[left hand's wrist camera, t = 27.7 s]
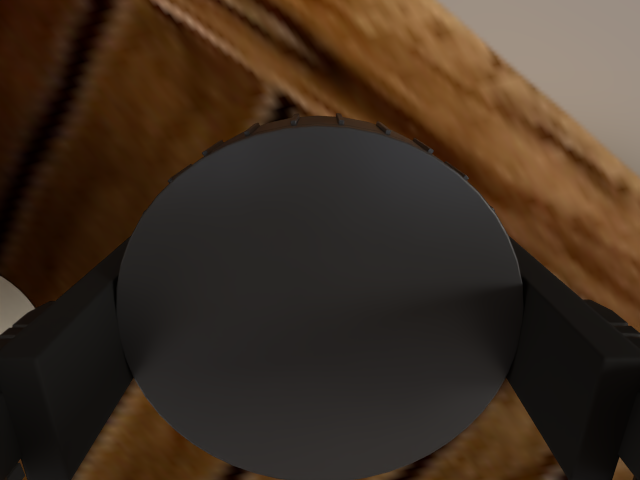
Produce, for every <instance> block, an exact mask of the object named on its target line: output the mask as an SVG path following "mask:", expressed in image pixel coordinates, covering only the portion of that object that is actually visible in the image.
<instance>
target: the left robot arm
mask: <svg viewBox="0 0 640 480" xmlns="http://www.w3.org/2000/svg"><path fill="white" fill-rule="evenodd" d="M130 237H131V236H130ZM130 237H129V238H128V239H127V240H126V241H124V242H123V243H122V244H121V245H120V246H119V247H118V248H116V249H115V250H114V251H113V252H112V253H111V254H109V255H108V256H107V257H106V258H105V259H104V260H102V261H101V262H100V263H99V264H98V265H97V266H96V267H94V268H93V269H92V270H91V271H90V272H89V273H87V274H86V275H85V276H84V277H83V278H82V279H80V280H79V281H78V282H77V283H76V284H75V285H74V286H72V287H71V288H70V289H69V290H68V291H67V292H65V293H64V294H63V295H62V296H61V297H60V298H59V299H57V300H56V301H49V302H47V303H45V304H43V305H41V306H39V307H37V308H35V309H33V310H31V311H29V312H28V313H26V314H25V315H24V316H23V317H21V318H20V319H19V320H18V321H17V322H15V323H14V324H13V325H12V328H8V329H7V330H6V331H4V332H3V333H2V334H1V335H0V480H7V475H8V474H9V473H10V472H11V470H12V469H13V468H14V466H15V465H16V464H17V463H18V461H19V460H20V459H21V461H22V464H23V467H24V470H25V473H26V476H27V480H71V479H72V477H73V476H74V474H75V472H76V471H77V469H78V467H79V466H80V464H81V462H82V461H83V459H84V458H85V456H86V454H87V453H88V451H89V449H90V448H91V446H92V444H93V443H94V441H95V440H96V438H97V436H98V435H99V433H100V431H101V430H102V428H103V426H104V425H105V423H106V422H107V420H108V418H109V417H110V415H111V413H112V412H113V410H114V408H115V407H116V405H117V404H118V402H119V400H120V399H121V397H122V395H123V394H124V392H125V390H126V389H127V387H128V386H129V384H130V382H131V381H132V379H133V375H132V372H131V370H130V368H129V366H128V363H127V361H126V359H125V356H124V352H123V348H122V344H121V339H120V334H119V328H118V322H117V316H116V287H117V282H118V276H119V271H120V266H121V262H122V259H123V256H124V253H125V250H126V247H127V245H128V242H129V239H130ZM509 238H510V241H511V244H512V246H513V249H514V252H515V254H516V257H517V260H518V264H519V269H520V274H521V279H522V283H523V302H524V311H523V320H522V326H521V332H520V337H519V342H518V347H517V351H516V355H515V357H514V359H513V362H512V364H511V367H510V369H509V372H508V374H507V376H506V378H507V379H508V381H509V383H510V384H511V386H512V388H513V389H514V391H515V393H516V394H517V396H518V397H519V399H520V401H521V402H522V404H523V406H524V407H525V409H526V411H527V412H528V414H529V415H530V417H531V419H532V420H533V422H534V424H535V425H536V427H537V429H538V430H539V432H540V433H541V435H542V437H543V438H544V440H545V442H546V443H547V445H548V447H549V448H550V450H551V451H552V453H553V455H554V456H555V458H556V460H557V461H558V463H559V465H560V466H561V468H562V469H563V471H564V473H565V474H566V476H567V478H568V479H569V480H612V478H613V475H614V472H615V469H616V466H617V463H618V460H619V457H620V458H621V459H622V461H623V462H624V463H625V464H626V466H627V467H628V468H629V470H630V471H631V472H632V473H633V475H634V477H633V480H640V333H639V332H638V331H637V330H635V329H634V328H633V327H632V326H628V323H627V322H626V321H624V320H623V319H622V318H621V317H619V316H618V315H617V314H616V313H614V312H613V311H612V310H610V309H608V308H606V307H604V306H602V305H600V304H598V303H596V302H594V301H592V300H582V299H581V298H580V297H579V296H578V295H577V294H575V293H574V292H573V291H572V290H571V289H570V288H568V287H567V286H566V285H565V284H564V283H563V282H562V281H560V280H559V279H558V278H557V277H556V276H555V275H553V274H552V273H551V272H550V271H549V270H548V269H546V268H545V267H544V266H543V265H542V264H541V263H540V262H538V261H537V260H536V259H535V258H534V257H533V256H531V255H530V254H529V253H528V252H527V251H526V250H525V249H523V248H522V247H521V246H520V245H519V244H518V243H516V242H515V241H514V240H513V239H512V238H511V237H509Z"/></svg>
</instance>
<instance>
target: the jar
mask: <svg viewBox="0 0 640 480" xmlns="http://www.w3.org/2000/svg"><path fill="white" fill-rule="evenodd" d="M33 309H35V308H34V306H33V305H32V304H31V302H30V301H29V300H28V298H27V297H26V296H25V295H24V294H23V293H22V292H21V291H20V290H19V289H18V288H16V287H15V286H14V285H13V284H12V283H10V282H9V281H7V280H6V279H4V278H3V277H1V276H0V335H1V334H2V333H3V332H4V331H6V330H7V329H8V328H12V325H13V324H14V323H15V322H17V321H18V320H19V319H20V318H21V317H23V316H24V315H25V314H26V313H28V312H29V311H31V310H33Z"/></svg>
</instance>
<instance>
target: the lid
mask: <svg viewBox="0 0 640 480" xmlns="http://www.w3.org/2000/svg"><path fill="white" fill-rule="evenodd" d="M433 151H434V150H432V149H431V148H429V147H428V146H426V145H425V144H423V143H422V142H420V141H419V140H417V139H416V138H414V139H413V141H412V140H410V139H408V138H406V137H404V136H402V135H400V134H398V133H396V132H394V131H392V130H390V129H388V128H387V127H386V126H385V125H383V124H382V123H381V122H377V123H376V125H375V124H372V123H369V122H365V121H360V120H355V119H349V118H344V117H342V115H341V114H339V113H336V117H329V116H309V117H299V114H295V115H294V116H293V118H289V119H285V120H280V121H275V122H271V123H267V124H264V125H261V126H260V125H259V123H256V124H254V125H253V126H251V127H250V128H249V129H247V130H246V131H245V132H243V133H241V134H239V135H237V136H235V137H233V138H232V139H230V140H228V141H226V142H223V141H222V140H221V141H219V142H217V143H216V144H214V145H213V146H211V147H210V148H208V149H207V150H205V151H204V152H202V154H203V155H204V157H203V158H201V159H200V160H198V161H197V162H196V163H194V164H193V165H192V164H190V165H189V166H187V167H186V168H184V169H183V170H181V171H180V172H179V173H177V174H176V175H174V176H173V177H171V178H170V179H169V180H168V182H169V183H170V184H169V185H168V186H167V187H166V188H165V189H164V190H163V191H162V192H161V193H160V194H158V195H157V197H156V198H155V199H154V201H153V202H152V203H151V205H150V206H149V207H148V209H147V210H145V211H144V213H143V214H142V217H141V219H140V220H139V222H138V224H137V226H136V228H135V230H134V232H133V234H132V235H131V237H130V239H129V242H128V245H127V247H126V250H125V253H124V256H123V259H122V262H121V266H120V271H119V276H118V282H117V287H116V316H117V322H118V328H119V334H120V339H121V344H122V348H123V352H124V356H125V359H126V361H127V363H128V366H129V368H130V370H131V372H132V375H133V377H134V379H135V380H136V382H137V384H138V385H139V387H140V389H141V390H142V392H143V394H144V395H145V397H146V398H147V399H148V401H149V402H150V403H151V405H152V406H153V407H154V408H155V410H156V411H157V412H158V413H159V415H160V416H161V417H163V418H164V419H165V420H166V421H167V422H168V423H169V424H170V425H171V426H172V427H173V428H174V429H175V430H176V431H177V432H178V433H180V434H181V435H182V436H184V437H185V438H186V439H187V440H189V441H190V442H191V443H193V444H194V445H196V446H197V447H199V448H201V449H202V450H204V451H206V452H207V453H209V454H210V455H212V456H214V457H216V458H218V459H220V460H223V461H225V462H227V463H229V464H231V465H233V466H236V467H239V468H242V469H245V470H247V471H250V472H253V473H257V474H261V475H265V476H269V477H273V478H278V479H285V480H354V479H361V478H367V477H371V476H375V475H379V474H382V473H386V472H390V471H392V470H395V469H398V468H401V467H403V466H406V465H409V464H411V463H413V462H415V461H417V460H419V459H421V458H423V457H425V456H427V455H429V454H431V453H433V452H434V451H436V450H437V449H439V448H440V447H442V446H444V445H445V444H447V443H448V442H450V441H451V440H452V439H453V438H455V437H456V436H457V435H458V434H460V433H461V432H462V431H463V430H465V429H466V428H467V427H468V426H469V425H470V424H471V423H472V422H473V421H474V420H475V419H476V418H477V417H478V416H479V415H480V414H481V413H482V412H483V410H484V409H485V408H486V407H487V405H488V404H489V403H490V401H491V400H492V399H493V397H494V396H495V395H496V393H497V392H498V390H499V388H500V386H501V385H502V383H503V381H504V379H505V378H506V376H507V374H508V372H509V369H510V367H511V364H512V362H513V359H514V357H515V355H516V351H517V347H518V342H519V337H520V332H521V326H522V320H523V311H524V302H523V283H522V279H521V274H520V269H519V264H518V260H517V257H516V254H515V252H514V249H513V246H512V244H511V241H510V238H509V236H508V234H507V232H506V231H505V229H504V227H503V225H502V224H501V222H500V220H499V218H498V216H497V215H496V213H495V210H494V209H493V208H492V207H491V206H490V205H489V204H488V203H487V202H486V200H485V199H484V198H483V197H482V195H481V194H480V193H479V192H478V191H477V190H476V189H475V188H474V187H473V186H472V185H471V184H470V183H469V182H468V181H467V180H468V179H469V178H468V177H467V176H466V175H465V174H464V173H462V172H461V171H459V170H458V169H456V168H455V167H453V166H452V165H451V164H449V163H448V162H445V163H444V162H442V161H441V160H440V159H438V158H437V157H435V156H434V155H433V154H432V153H433Z"/></svg>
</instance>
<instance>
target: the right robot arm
mask: <svg viewBox="0 0 640 480" xmlns="http://www.w3.org/2000/svg"><path fill="white" fill-rule="evenodd" d="M24 476H25V474H24V472H23V469H22V467H21V464H20V463H17V464H16V465H15V466H14V468H13V469H12V470H11V472H10V473H9V474H8V475H7V480H22V479H23V478H24Z"/></svg>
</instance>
